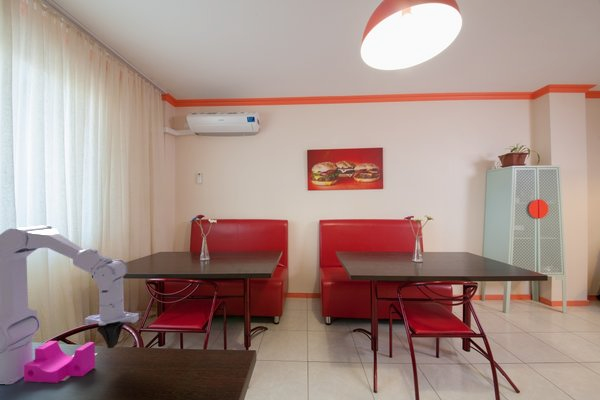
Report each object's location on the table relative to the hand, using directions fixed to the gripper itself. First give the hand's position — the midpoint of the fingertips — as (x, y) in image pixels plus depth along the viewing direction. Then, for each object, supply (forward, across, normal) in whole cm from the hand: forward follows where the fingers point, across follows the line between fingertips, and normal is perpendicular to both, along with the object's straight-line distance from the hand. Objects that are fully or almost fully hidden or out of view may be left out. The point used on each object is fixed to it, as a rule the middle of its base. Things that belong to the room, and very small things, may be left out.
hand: (112, 346), depth 69 cm
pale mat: (+6, -14, +1) cm, 15 cm away
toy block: (+6, -13, -2) cm, 15 cm away
